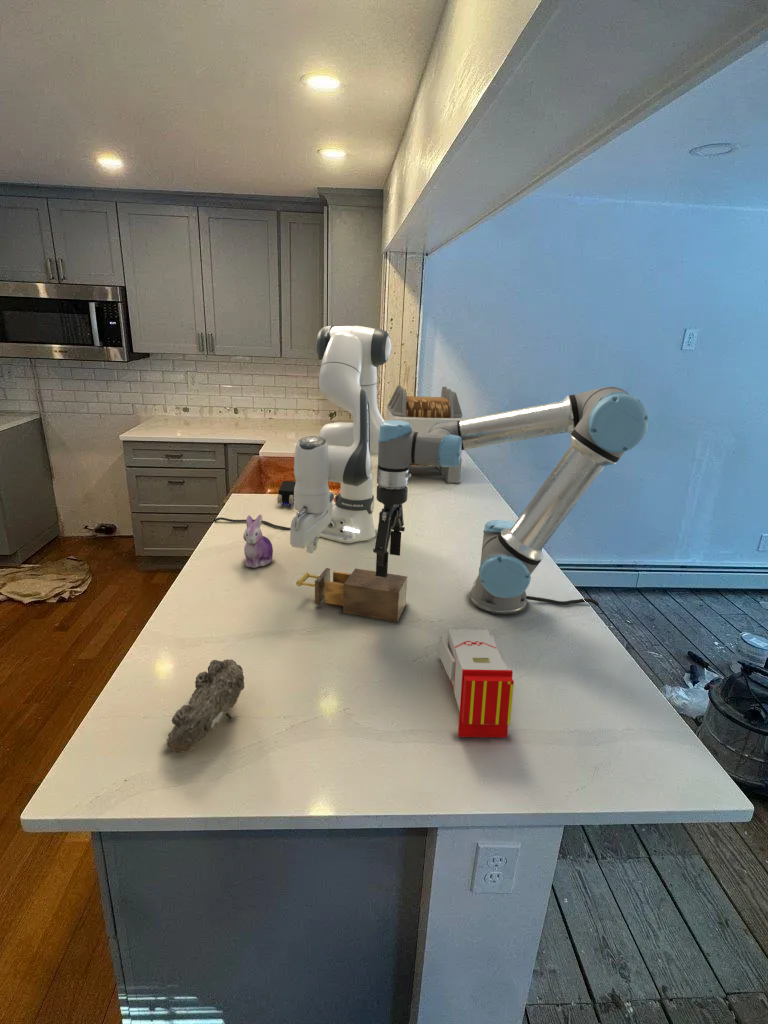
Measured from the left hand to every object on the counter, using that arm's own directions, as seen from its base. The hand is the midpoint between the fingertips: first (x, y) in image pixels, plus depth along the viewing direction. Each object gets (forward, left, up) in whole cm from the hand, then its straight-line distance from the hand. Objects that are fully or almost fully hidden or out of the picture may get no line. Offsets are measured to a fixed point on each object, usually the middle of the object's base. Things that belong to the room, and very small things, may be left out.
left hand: (311, 551), depth 149 cm
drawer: (+6, 0, -13) cm, 14 cm away
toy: (+46, -26, -14) cm, 55 cm away
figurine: (-24, +15, -14) cm, 31 cm away
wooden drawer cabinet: (+18, 0, -14) cm, 23 cm away
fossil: (+1, -50, -14) cm, 52 cm away
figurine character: (-39, +68, -14) cm, 79 cm away
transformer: (0, +134, -14) cm, 134 cm away
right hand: (+21, 0, -1) cm, 21 cm away
